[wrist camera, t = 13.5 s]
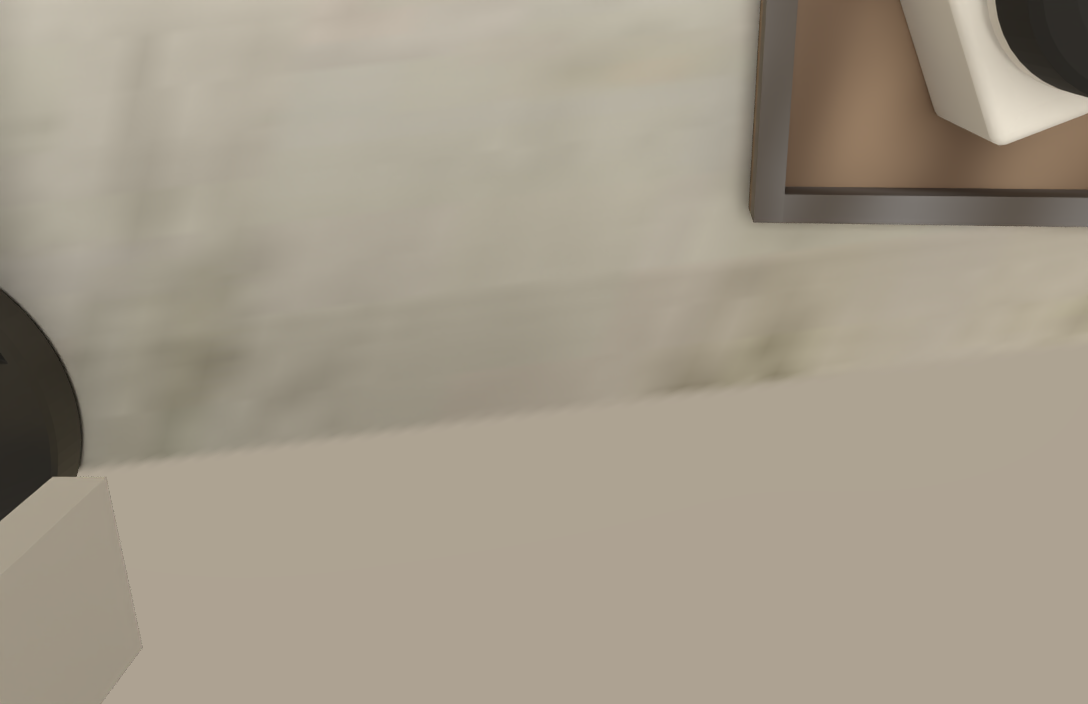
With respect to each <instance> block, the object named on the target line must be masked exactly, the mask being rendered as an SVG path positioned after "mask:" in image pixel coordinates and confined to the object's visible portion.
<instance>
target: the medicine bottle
mask: <svg viewBox="0 0 1088 704" xmlns="http://www.w3.org/2000/svg"><path fill="white" fill-rule="evenodd" d="M900 2H901V5H902V8H903V12H904V15H905V18H906V21H907V24H908V28H909V31H910V34H911V37H912V40H913V43H914V47H915V50H916V53H917V56H918V59H919V63H920V66H921V69H922V72H923V75H924V79H925V82H926V85H927V88H928V91H929V94H930V98H931V101H932V104H933V107H934V110H935V112H936V114H937V115H938V116H939V117H941V118H944V119H946V120H948V121H950V122H952V123H954V124H956V125H958V126H960V127H962V128H964V129H966V130H968V131H970V132H972V133H974V134H976V135H978V136H980V137H982V138H984V139H986V140H988V141H990V142H992V143H995V144H997V145H1006V144H1009V143H1012V142H1014V141H1017V140H1019V139H1022V138H1025V137H1027V136H1030V135H1033V134H1035V133H1038V132H1040V131H1043V130H1046V129H1048V128H1051V127H1053V126H1056V125H1059V124H1061V123H1064V122H1066V121H1069V120H1072V119H1074V118H1077V117H1080V116H1082V115H1085V114H1087V113H1088V0H900Z"/></svg>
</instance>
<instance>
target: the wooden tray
mask: <svg viewBox="0 0 1088 704" xmlns="http://www.w3.org/2000/svg"><path fill="white" fill-rule="evenodd" d="M749 210H750V213H751V216H752V219H753V222H763V223H834V224H905V225H976V226H1047V227H1088V113H1087V114H1085V115H1082V116H1080V117H1077V118H1074V119H1072V120H1069V121H1066V122H1064V123H1061V124H1059V125H1056V126H1053V127H1051V128H1048V129H1046V130H1043V131H1040V132H1038V133H1035V134H1033V135H1030V136H1027V137H1025V138H1022V139H1019V140H1017V141H1014V142H1012V143H1009V144H1006V145H997V144H995V143H992V142H990V141H988V140H986V139H984V138H982V137H980V136H978V135H976V134H974V133H972V132H970V131H968V130H966V129H964V128H962V127H960V126H958V125H956V124H954V123H952V122H950V121H948V120H946V119H944V118H941V117H939V116H938V115H937V114H936V112H935V110H934V107H933V104H932V101H931V98H930V94H929V91H928V88H927V85H926V82H925V79H924V75H923V72H922V69H921V66H920V63H919V59H918V56H917V53H916V50H915V47H914V43H913V40H912V37H911V34H910V31H909V28H908V24H907V21H906V18H905V15H904V12H903V8H902V5H901V2H900V0H761V4H760V21H759V38H758V56H757V73H756V90H755V108H754V125H753V142H752V160H751V177H750V194H749Z"/></svg>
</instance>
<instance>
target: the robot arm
mask: <svg viewBox="0 0 1088 704" xmlns="http://www.w3.org/2000/svg"><path fill="white" fill-rule="evenodd" d="M80 454H81V429H80V421H79V414H78V410H77V405H76V401H75V398H74V394H73V391H72V388H71V386H70V383H69V380H68V378H67V376H66V373H65V371H64V369H63V367H62V365H61V363H60V361H59V359H58V357H57V355H56V354H55V352H54V350H53V349H52V347H51V346H50V344H49V343H48V341H47V340H46V338H45V337H44V335H43V334H42V333H41V331H40V330H39V329H38V328H37V326H36V325H35V324H34V323H33V321H32V320H31V319H30V318H29V317H28V316H27V315H26V314H25V312H24V311H23V310H22V309H21V308H20V307H19V306H18V305H17V304H16V303H15V302H14V301H12V300H11V299H10V298H9V297H8V296H7V295H6V294H4V293H3V292H2V291H1V290H0V704H101V703H102V702H103V700H104V699H105V698H106V696H107V695H108V694H109V692H110V691H111V689H112V688H113V687H114V686H115V684H116V683H117V682H118V680H119V679H120V677H121V676H122V675H123V673H124V672H125V671H126V669H127V668H128V667H129V665H130V664H131V663H132V661H133V660H134V659H135V657H136V656H137V655H138V653H139V652H140V651H141V649H142V648H143V647H142V642H141V637H140V633H139V628H138V623H137V619H136V614H135V609H134V605H133V600H132V595H131V591H130V586H129V581H128V577H127V572H126V567H125V563H124V558H123V553H122V549H121V544H120V539H119V535H118V530H117V525H116V520H115V516H114V511H113V506H112V502H111V497H110V492H109V488H108V483H107V478H106V477H76V476H77V473H78V468H79V463H80Z"/></svg>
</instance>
